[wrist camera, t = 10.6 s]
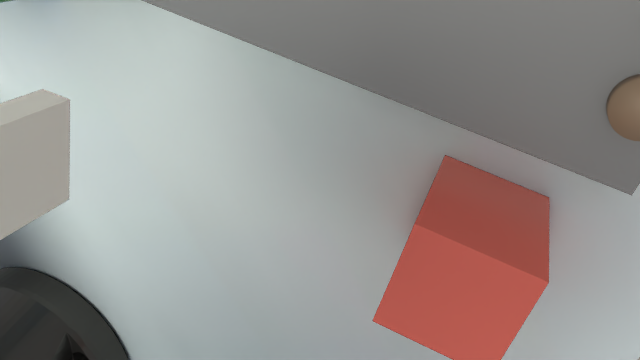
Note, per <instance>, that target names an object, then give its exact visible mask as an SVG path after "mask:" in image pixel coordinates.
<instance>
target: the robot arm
mask: <svg viewBox="0 0 640 360" xmlns="http://www.w3.org/2000/svg"><path fill="white" fill-rule="evenodd" d="M69 165H70V99H68V98H65V97H62V96H60V95H57V94H54V93H52V92H49V91H47V90H44V89H41V90H38V91H35V92H32V93H29V94H27V95H24V96H21V97H18V98H15V99H12V100H9V101H6V102H3V103H0V240H1V239H3V238H5V237H6V236H8V235H10V234H11V233H13V232H15V231H17V230H18V229H20V228H22V227H23V226H25V225H27V224H28V223H30V222H32V221H34V220H35V219H37V218H39V217H40V216H42V215H44V214H45V213H47V212H49V211H50V210H52V209H54V208H56V207H57V206H59V205H61V204H62V203H64V202H66V201H67V200H69ZM0 360H128V358H127V356H126V354H125V352H124V349H123V348H122V346H121V344H120V342H119V340H118V339H117V337H116V335H115V334H114V332H113V331H112V330H111V328H110V327H109V325H108V324H107V323H106V322H105V320H104V319H103V318H102V317H101V316H100V315H99V314H98V312H97V311H96V310H95V309H94V308H93V307H92V306H91V305H90V304H89V303H87V302H86V301H85V300H84V299H83V298H82V297H81V296H79V295H78V294H77V293H75V292H74V291H73V290H71V289H70V288H68V287H67V286H65V285H64V284H62V283H61V282H59V281H57V280H55V279H53V278H51V277H49V276H47V275H45V274H42V273H39V272H37V271H33V270H30V269H25V268H15V267H11V268H2V269H0ZM638 360H640V357H639V359H638Z"/></svg>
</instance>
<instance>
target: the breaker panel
mask: <svg viewBox="0 0 640 360" xmlns="http://www.w3.org/2000/svg"><path fill="white" fill-rule="evenodd" d="M142 1H145V2H147V3H150V4H152V5H155V6H157V7H160V8H162V9H165V10H167V11H170V12H172V13H175V14H177V15H180V16H182V17H185V18H188V19H190V20H193V21H195V22H198V23H200V24H203V25H205V26H208V27H210V28H213V29H215V30H218V31H220V32H223V33H225V34H228V35H230V36H233V37H235V38H238V39H240V40H243V41H245V42H248V43H250V44H253V45H255V46H258V47H260V48H263V49H265V50H268V51H270V52H273V53H275V54H278V55H281V56H283V57H286V58H288V59H291V60H293V61H296V62H298V63H301V64H303V65H306V66H308V67H311V68H313V69H316V70H318V71H321V72H323V73H326V74H328V75H331V76H333V77H336V78H338V79H341V80H343V81H346V82H348V83H351V84H353V85H356V86H358V87H361V88H363V89H366V90H369V91H371V92H374V93H376V94H379V95H381V96H384V97H386V98H389V99H391V100H394V101H396V102H399V103H401V104H404V105H406V106H409V107H411V108H414V109H416V110H419V111H421V112H424V113H426V114H429V115H431V116H434V117H436V118H439V119H441V120H444V121H446V122H449V123H451V124H454V125H457V126H459V127H462V128H464V129H467V130H469V131H472V132H474V133H477V134H479V135H482V136H484V137H487V138H489V139H492V140H494V141H497V142H499V143H502V144H504V145H507V146H509V147H512V148H514V149H517V150H519V151H522V152H524V153H527V154H529V155H532V156H534V157H537V158H539V159H542V160H544V161H547V162H550V163H552V164H555V165H557V166H560V167H562V168H565V169H567V170H570V171H572V172H575V173H577V174H580V175H582V176H585V177H587V178H590V179H592V180H595V181H597V182H600V183H602V184H605V185H607V186H610V187H612V188H615V189H617V190H620V191H622V192H625V193H627V194H630V195H632V194H633V193H634V191H635V189H636V188H637V186H638V185H639V183H640V0H142Z"/></svg>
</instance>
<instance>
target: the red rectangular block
mask: <svg viewBox="0 0 640 360" xmlns="http://www.w3.org/2000/svg"><path fill="white" fill-rule="evenodd" d="M548 283H549V197H546V196H544V195H542V194H539V193H537V192H534V191H532V190H529V189H527V188H524V187H522V186H520V185H517V184H515V183H512V182H510V181H507V180H505V179H502V178H500V177H498V176H495V175H493V174H490V173H488V172H485V171H483V170H480V169H478V168H476V167H473V166H471V165H468V164H466V163H463V162H461V161H458V160H456V159H454V158H451V157H449V156H446V155H445V157H444V159H443V161H442V163H441V166H440V168H439V170H438V172H437V175H436V177H435V179H434V181H433V184H432V186H431V188H430V190H429V193H428V195H427V197H426V199H425V202H424V204H423V206H422V208H421V210H420V213H419V215H418V217H417V219H416V222H415V224H414V226H413V229H412V231H411V233H410V235H409V238H408V240H407V242H406V245H405V247H404V249H403V252H402V254H401V256H400V259H399V261H398V263H397V265H396V268H395V270H394V272H393V275H392V277H391V279H390V282H389V284H388V286H387V289H386V291H385V293H384V295H383V298H382V300H381V302H380V305H379V307H378V309H377V312H376V314H375V316H374V318H373V322H375V323H378V324H380V325H382V326H384V327H386V328H388V329H390V330H392V331H394V332H396V333H398V334H401V335H403V336H405V337H407V338H409V339H411V340H413V341H415V342H417V343H419V344H421V345H423V346H426V347H428V348H430V349H432V350H434V351H436V352H438V353H440V354H442V355H444V356H446V357H449V358H451V359H453V360H501V359H502V357H503V355H504V354H505V352H506V351H507V349H508V347H509V346H510V344H511V342H512V341H513V339H514V338H515V336H516V334H517V333H518V331H519V330H520V328H521V326H522V325H523V323H524V322H525V320H526V318H527V317H528V315H529V313H530V312H531V310H532V309H533V307H534V305H535V304H536V302H537V301H538V299H539V297H540V296H541V294H542V293H543V291H544V289H545V288H546V286H547V284H548Z"/></svg>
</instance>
